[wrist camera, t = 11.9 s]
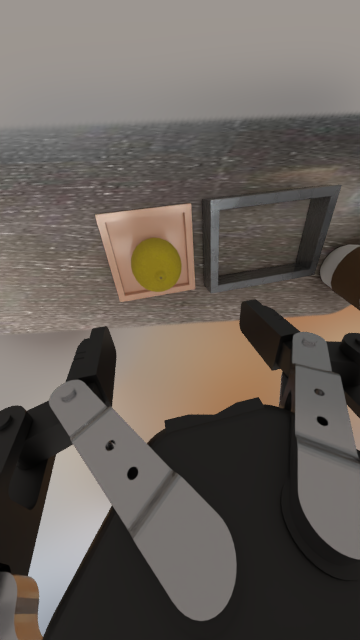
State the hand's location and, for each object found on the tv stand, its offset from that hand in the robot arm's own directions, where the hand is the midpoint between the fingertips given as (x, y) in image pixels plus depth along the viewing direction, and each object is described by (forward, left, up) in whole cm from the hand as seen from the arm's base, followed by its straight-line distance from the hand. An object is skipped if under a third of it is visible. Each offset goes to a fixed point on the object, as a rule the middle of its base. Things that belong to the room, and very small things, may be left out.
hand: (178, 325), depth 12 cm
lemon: (0, 0, -17) cm, 17 cm away
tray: (0, 0, -17) cm, 17 cm away
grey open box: (-15, 0, -17) cm, 22 cm away
